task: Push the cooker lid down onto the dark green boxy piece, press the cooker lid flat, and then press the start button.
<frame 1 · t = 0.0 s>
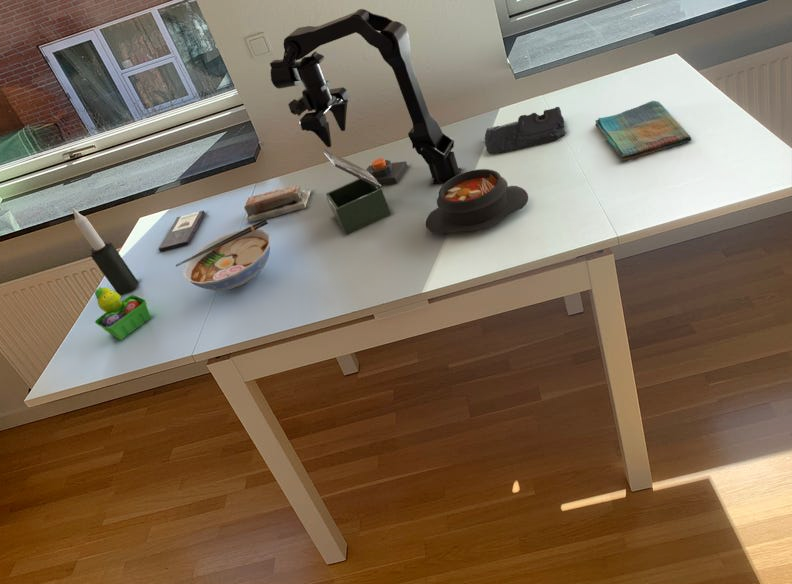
hand: (336, 138, 189), 15 cm above the table, tool pointing down, fingers open, 9 cm apart
ramen bowl: (240, 279, 177), on the table
fruit basket: (130, 326, 174), on the table
chocolate bar: (183, 232, 208), on the table
start button: (379, 164, 196), point 4 cm above the table, slide at 0.1 cm
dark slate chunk: (525, 136, 193), on the table
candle: (128, 288, 190), on the table
dish towel: (641, 134, 175), on the table
dark green boxy piece: (362, 216, 184), on the table
cooker lid: (352, 168, 176), point 13 cm above the table, hinge at 50.0°
packaged product: (280, 208, 202), on the table
casserole: (478, 217, 167), on the table
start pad: (383, 177, 198), on the table
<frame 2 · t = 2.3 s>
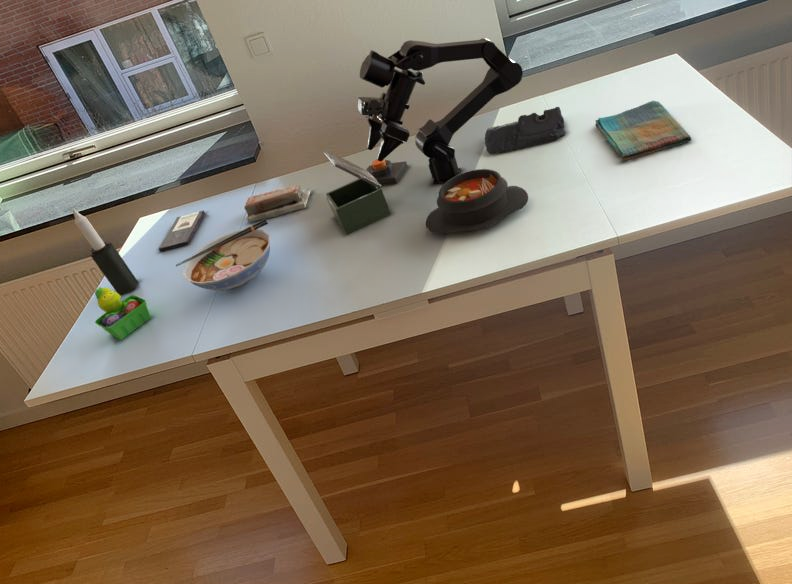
hand: (374, 155, 176), 14 cm above the table, tool tilted 45°, fingers open, 9 cm apart
nothing on the table moved.
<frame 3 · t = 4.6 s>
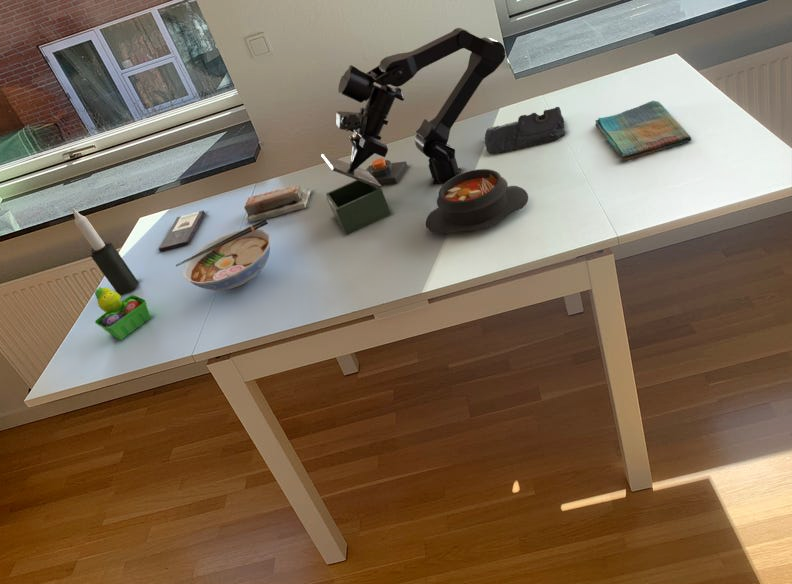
hand: (351, 169, 176), 13 cm above the table, tool tilted 45°, fingers closed, pressing on cooker lid
cooker lid: (351, 170, 176), point 12 cm above the table, hinge at 44.9°, touching gripper
everything else where it was.
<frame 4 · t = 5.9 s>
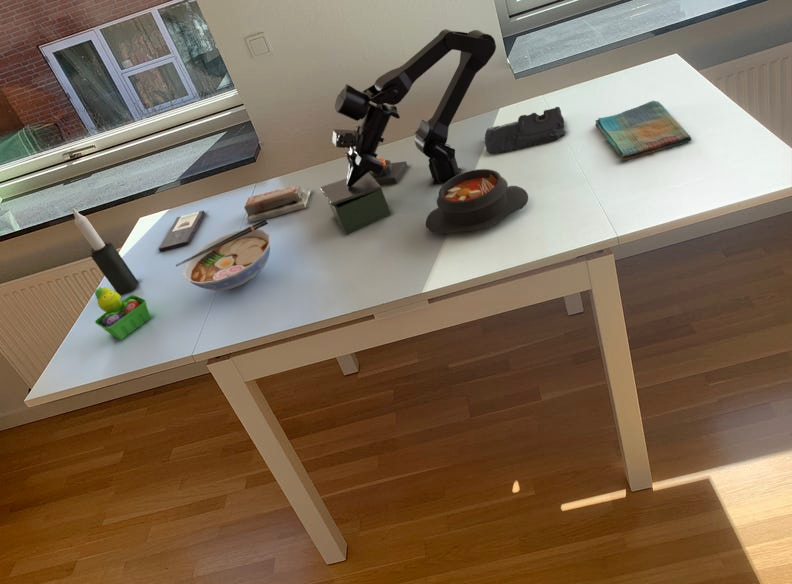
hand: (348, 186, 178), 9 cm above the table, tool tilted 45°, fingers closed, pressing on cooker lid
cooker lid: (350, 188, 178), point 8 cm above the table, hinge at 5.9°, touching gripper
everything else where it was.
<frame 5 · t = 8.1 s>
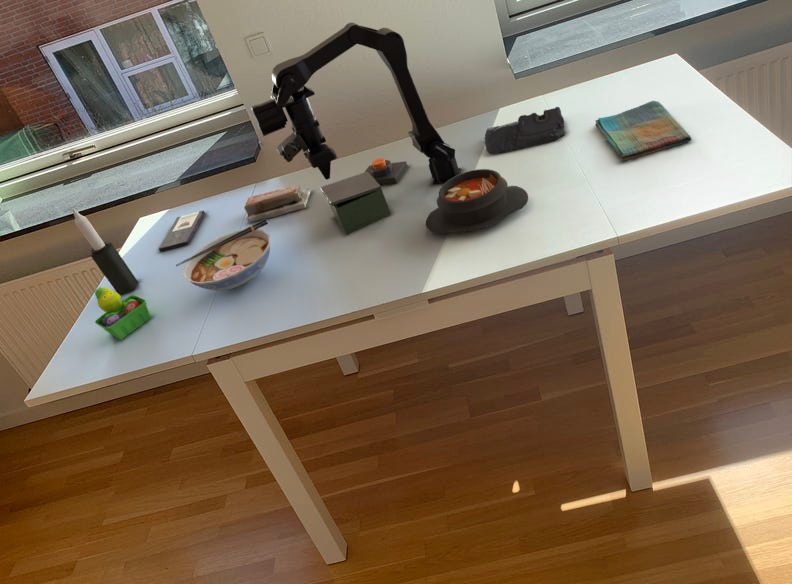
hand: (327, 178, 175), 13 cm above the table, tool pointing down, fingers closed
cooker lid: (350, 188, 178), point 8 cm above the table, hinge at 5.9°
everything else where it was.
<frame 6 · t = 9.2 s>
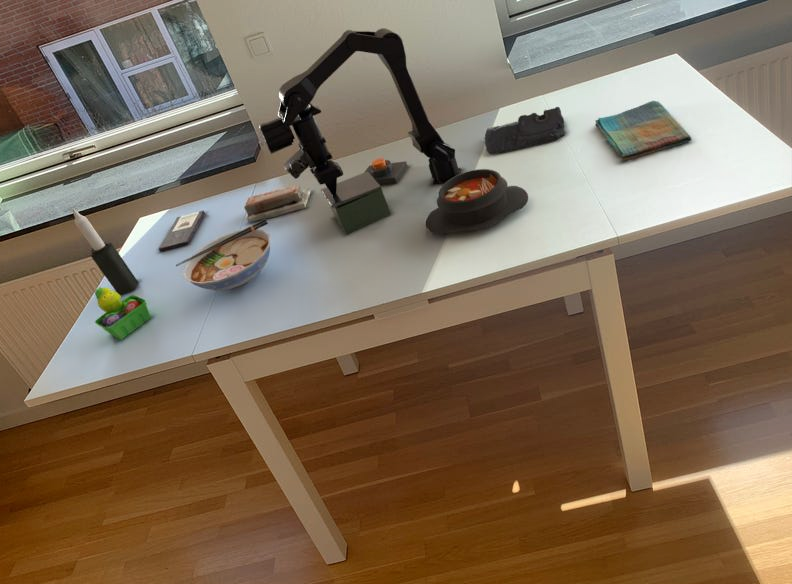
hand: (334, 193, 177), 9 cm above the table, tool pointing down, fingers closed
cooker lid: (350, 189, 178), point 8 cm above the table, hinge at 3.1°
everything else where it was.
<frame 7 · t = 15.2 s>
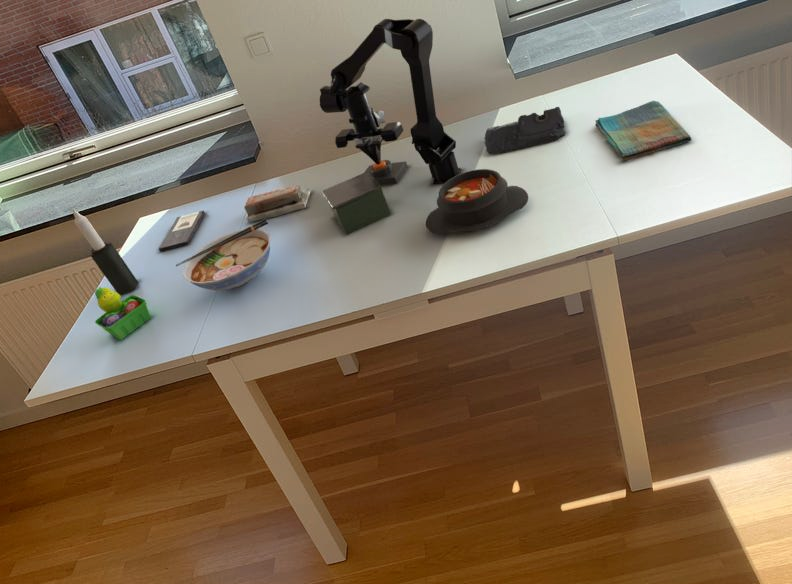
hand: (378, 163, 195), 4 cm above the table, tool pointing down, fingers closed, pressing on start button
start button: (379, 166, 196), point 3 cm above the table, slide at -0.5 cm, touching gripper
cooker lid: (350, 190, 179), point 8 cm above the table, hinge at 1.0°
everything else where it was.
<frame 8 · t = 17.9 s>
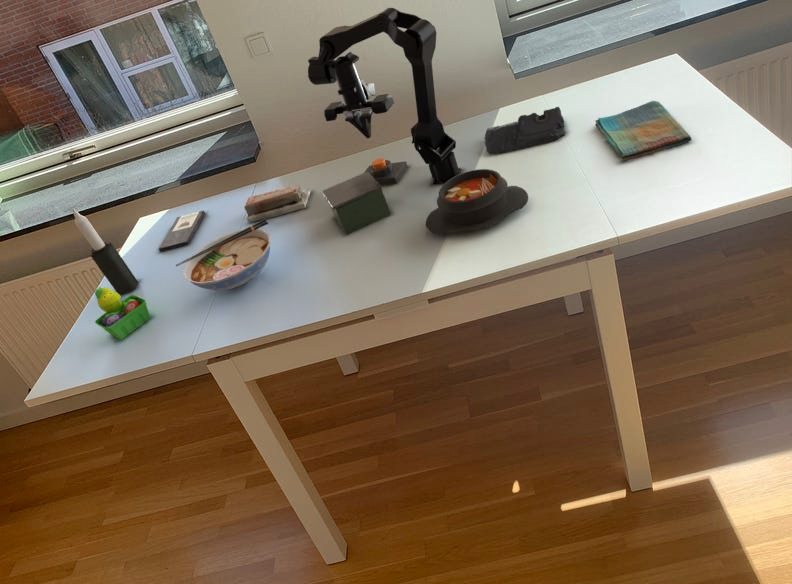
hand: (369, 137, 190), 12 cm above the table, tool pointing down, fingers closed
start button: (379, 164, 196), point 4 cm above the table, slide at 0.1 cm
everything else where it was.
at the end: cooker lid at +1° (first picture: +50°); start button pushed in 1.0 cm at the most during the clip, back to where it started at the end; start button slide at 0.1 cm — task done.
